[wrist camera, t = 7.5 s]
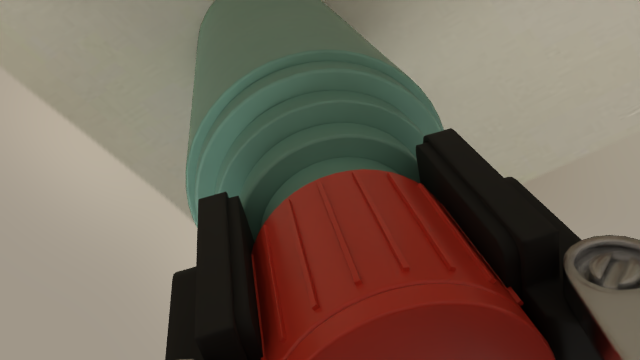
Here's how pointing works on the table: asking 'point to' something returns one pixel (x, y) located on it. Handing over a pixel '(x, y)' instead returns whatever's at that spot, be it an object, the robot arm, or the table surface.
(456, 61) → the table surface
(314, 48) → the bottle
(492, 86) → the table surface
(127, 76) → the table surface
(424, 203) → the cap
